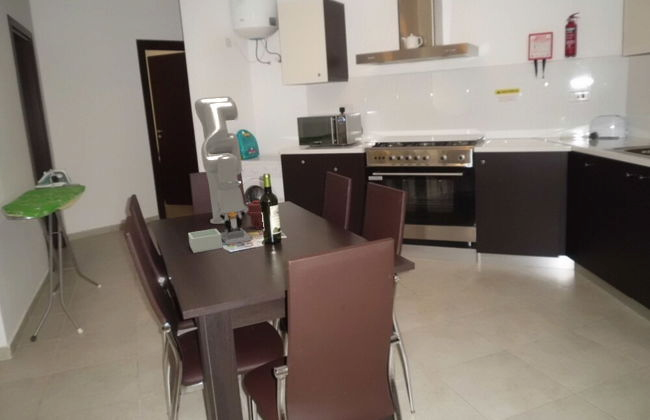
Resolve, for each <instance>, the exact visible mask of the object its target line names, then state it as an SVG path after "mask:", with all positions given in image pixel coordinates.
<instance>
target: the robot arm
mask: <svg viewBox="0 0 650 420" xmlns="http://www.w3.org/2000/svg"><path fill="white" fill-rule="evenodd" d="M194 109H195V110H194V111H195V113H196V116H197V118H198V120H199V121H200V123H201V126H202V127H201V128H202V131H203V133H202V134H203V142H202V145H201V150H200V151H201V153H200V154H201V160H202V164H203V168H204V171H205V174H206V178H207V181H208V187H209V197H210V203H211V212H212V218H211V219H210V224H214V225H220V224H221V225H222V224H224V227H225V229H228V230H229V229H230V226H229V219H228V213H230V212H237V213H238V216H237V221H238V227H239V228H242V227H241V226H243V223H242V218H243V217H244V215H245V214H247V211H248V210H249V209H248V206H247V205H245V203H244V198H243V194H242V190H241V188H240V187H239V186H240V185H242V181H239V180H238V175H240V174H241V173H242V170H243V166H242V158H241V149H240V142H239V138H238V136H237V134H235V133H233V132H229V131H228V126H227V121H235V120H237V119H238V115H239V113H238V108H237V104H236V102H235V101H234V100H233V98H232V97H230V96H212V97H211V96H210V97H202V98H198V99H196V100H195V102H194Z"/></svg>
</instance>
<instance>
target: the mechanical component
mask: <svg viewBox="0 0 650 420" xmlns="http://www.w3.org/2000/svg"><path fill="white" fill-rule="evenodd" d="M247 208H248V209H249V210H248V211H247V212H246V215H247V216H249V217H250V223H251V224H250V225H251V226H252V227H254V228H255V229H256V230H259V229H262V228H264V227H263V222H262V214H261V207H260V199H259V200H257V199H256V200H253V201H252V202H249V203H248V204H247Z"/></svg>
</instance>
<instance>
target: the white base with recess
mask: <svg viewBox="0 0 650 420" xmlns="http://www.w3.org/2000/svg"><path fill="white" fill-rule="evenodd" d="M219 233H220V234H221V239H223V240H222V242H224V244H225V245H226V244H228V245H233V244H232V243H234V244H238V243H237V242H240V243H244V242H243V241H245V242H249V240H251V236H250V234H248V232H246V230H244V229H243V228H242V227H241V228H239V227H238V231H232V232H230V229H229V230H228V229H227V228H224V231H221V232H219Z"/></svg>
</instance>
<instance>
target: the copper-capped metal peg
mask: <svg viewBox="0 0 650 420" xmlns="http://www.w3.org/2000/svg"><path fill="white" fill-rule="evenodd" d="M237 218H238V213H237V212H230V213H228V219H229V226H230V232H232V231H238V221H237Z"/></svg>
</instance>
